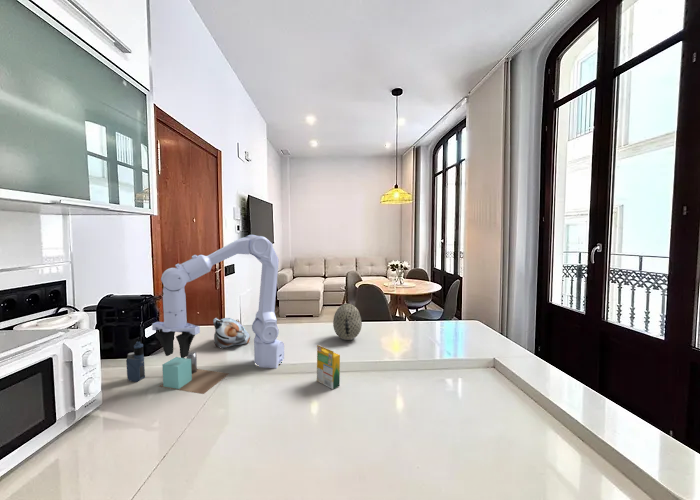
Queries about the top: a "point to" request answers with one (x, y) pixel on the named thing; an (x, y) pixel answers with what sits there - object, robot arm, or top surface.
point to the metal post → (193, 361)
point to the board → (202, 381)
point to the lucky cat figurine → (229, 333)
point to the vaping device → (136, 364)
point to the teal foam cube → (177, 372)
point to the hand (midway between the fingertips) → (176, 355)
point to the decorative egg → (347, 322)
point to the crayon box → (328, 367)
